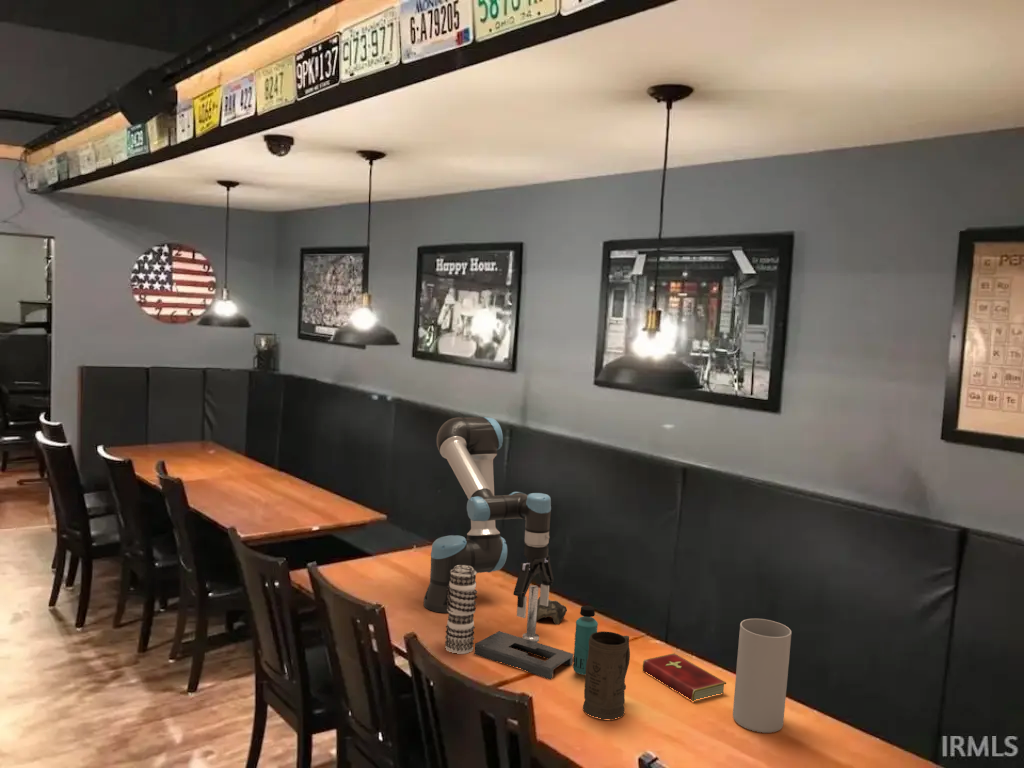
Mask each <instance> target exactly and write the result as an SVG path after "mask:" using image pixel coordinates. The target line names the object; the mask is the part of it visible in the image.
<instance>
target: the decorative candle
mask: <svg viewBox="0 0 1024 768" xmlns="http://www.w3.org/2000/svg"><path fill="white" fill-rule="evenodd" d="M450 573H451V576H450V583H449V584H448V585H447V586H448V589H447V591H448V596H447V598H448V600H447V603H448V607H447V611H448V612H449V613H447V614H448V616H447V622H446V626H445V628H446V631H445V634H446V635H445V636H444V637H445V638H444V639H445V641H444V643H445V646H444V649H445V648H446V649H445V650H446V651H447V652H448V651H449V652H448V653H450V652H452V653H451V654H453V653H457V654H456V655H467V654H470V653H471V652H473V650H474V647H473V646H475V643H474V640H475V637H474V634H475V631H474V630H475V628H476V627H475V623H474V622H475V621H474V618H475V617H474V614H475V612H476V609H477V606H476V605H477V602H476V601H475V600H477V598H478V595H477V594H478V593H479V591H478V590H477V589H476V587H477V582H476V579H477V578H476V575H477V574H478V573H477V572H476V571H475V570H474V569H473V567H471V566H469V565H457V566H455V567H454V568H453V569H452V570H451V571H450ZM449 590H450V591H449ZM449 601H450V602H449ZM469 652H470V653H469Z"/></svg>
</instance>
